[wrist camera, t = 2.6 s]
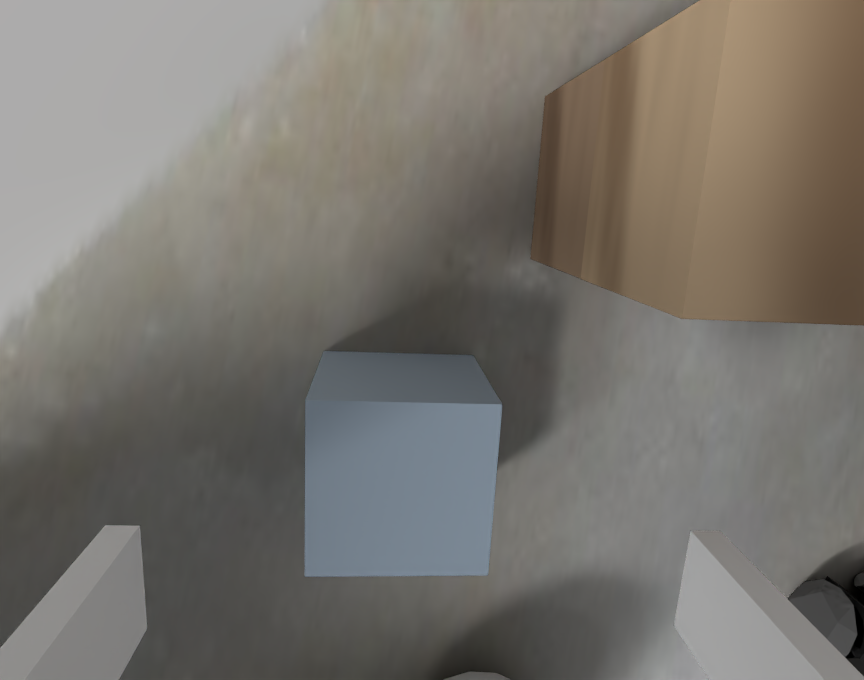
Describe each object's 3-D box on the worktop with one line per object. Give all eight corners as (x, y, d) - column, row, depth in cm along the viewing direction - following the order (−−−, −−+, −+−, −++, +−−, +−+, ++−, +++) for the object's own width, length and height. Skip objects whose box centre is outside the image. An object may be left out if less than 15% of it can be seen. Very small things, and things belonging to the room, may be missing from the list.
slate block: (322, 488, 25) (304, 576, 19) (324, 350, 23) (305, 400, 18) (463, 489, 25) (487, 575, 20) (472, 354, 24) (502, 404, 18)
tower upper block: (580, 279, 17) (681, 318, 12) (604, 59, 16) (733, -22, 10) (771, 287, 18) (959, 328, 12) (810, 75, 17) (1044, 8, 11)
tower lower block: (530, 258, 23) (580, 278, 17) (545, 96, 22) (605, 58, 16) (675, 265, 24) (772, 286, 18) (698, 107, 22) (810, 75, 17)
